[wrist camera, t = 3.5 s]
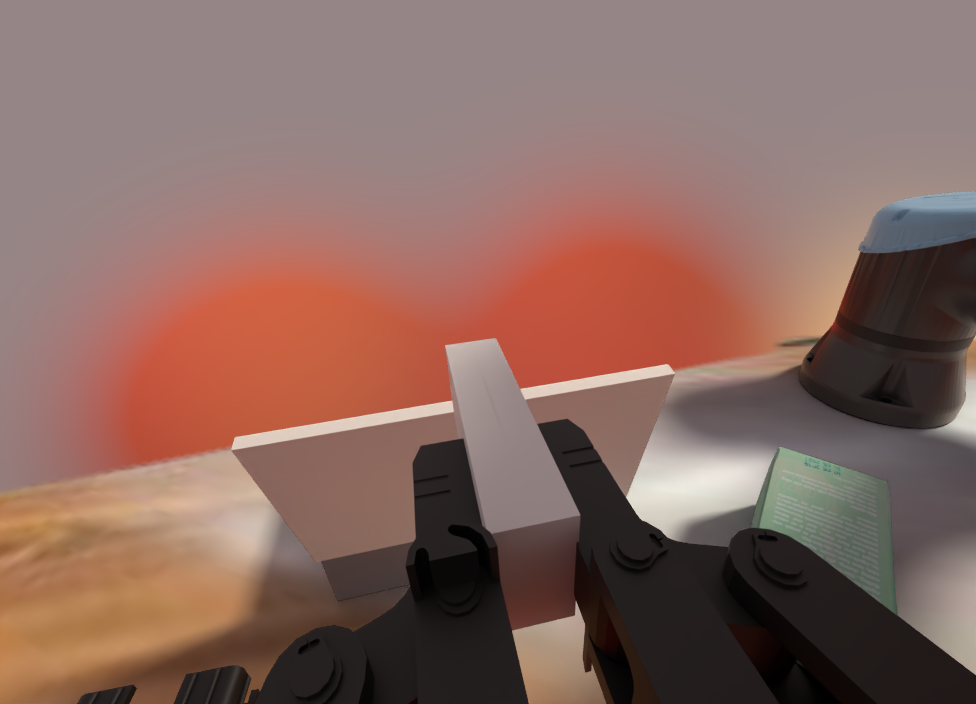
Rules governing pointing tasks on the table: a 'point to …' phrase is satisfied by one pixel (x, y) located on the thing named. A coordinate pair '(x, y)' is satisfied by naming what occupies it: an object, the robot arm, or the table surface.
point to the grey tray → (368, 571)
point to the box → (832, 517)
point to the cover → (394, 445)
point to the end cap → (191, 689)
